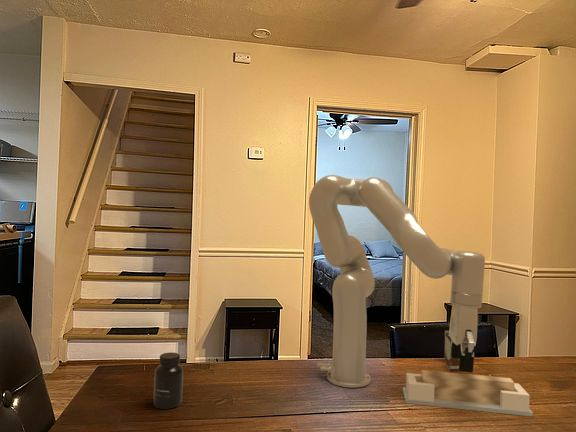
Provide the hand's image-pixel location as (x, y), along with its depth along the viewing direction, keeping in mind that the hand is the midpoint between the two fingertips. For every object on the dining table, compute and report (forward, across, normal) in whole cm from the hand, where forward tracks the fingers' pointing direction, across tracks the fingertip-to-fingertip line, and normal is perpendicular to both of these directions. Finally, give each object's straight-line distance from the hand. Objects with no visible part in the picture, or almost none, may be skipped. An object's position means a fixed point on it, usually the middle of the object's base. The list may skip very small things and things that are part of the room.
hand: (461, 364), depth 109 cm
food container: (+10, -28, +5) cm, 30 cm away
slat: (+9, 0, +2) cm, 9 cm away
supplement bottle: (+12, +19, -72) cm, 75 cm away
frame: (+10, 0, +1) cm, 10 cm away
